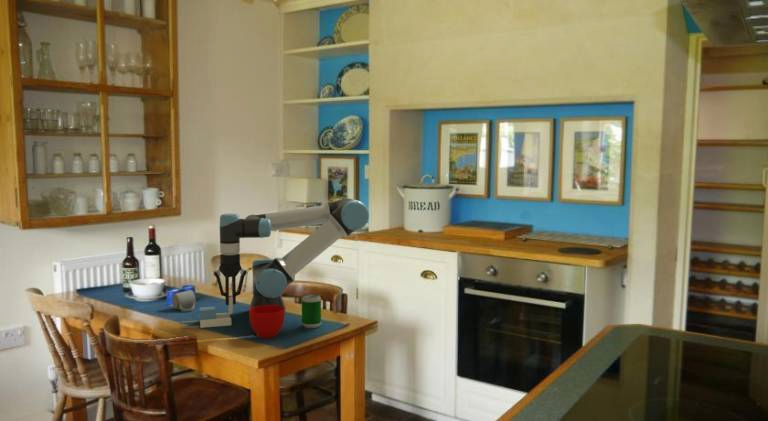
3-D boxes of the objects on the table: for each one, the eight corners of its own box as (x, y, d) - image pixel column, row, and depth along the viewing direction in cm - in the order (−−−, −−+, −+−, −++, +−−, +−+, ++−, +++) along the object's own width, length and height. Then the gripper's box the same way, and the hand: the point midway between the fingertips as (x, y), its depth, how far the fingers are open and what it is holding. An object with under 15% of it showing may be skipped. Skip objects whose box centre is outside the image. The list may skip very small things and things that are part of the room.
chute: (229, 321, 254) (229, 312, 253) (231, 327, 245) (231, 318, 244) (181, 325, 248) (181, 316, 248) (181, 331, 239) (180, 322, 239)
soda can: (324, 327, 245) (324, 296, 244) (306, 329, 242) (306, 298, 241) (316, 322, 252) (316, 292, 251) (299, 325, 248) (298, 295, 247)
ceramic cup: (265, 326, 246) (264, 301, 245) (292, 335, 234) (291, 308, 233) (236, 333, 237) (235, 307, 236) (263, 343, 225) (262, 315, 224)
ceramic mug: (171, 308, 275) (171, 291, 274) (190, 305, 280) (189, 288, 279) (180, 313, 267) (179, 295, 266) (199, 310, 272) (198, 293, 271)
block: (215, 321, 250) (215, 306, 250) (216, 324, 245) (216, 309, 244) (199, 322, 248) (199, 307, 248) (200, 326, 243) (199, 310, 243)
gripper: (246, 251, 252) (246, 309, 254) (212, 252, 248) (213, 311, 251) (247, 254, 245) (248, 314, 247) (213, 255, 241) (214, 316, 243)
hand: (230, 312), depth 249 cm, fingers closed
